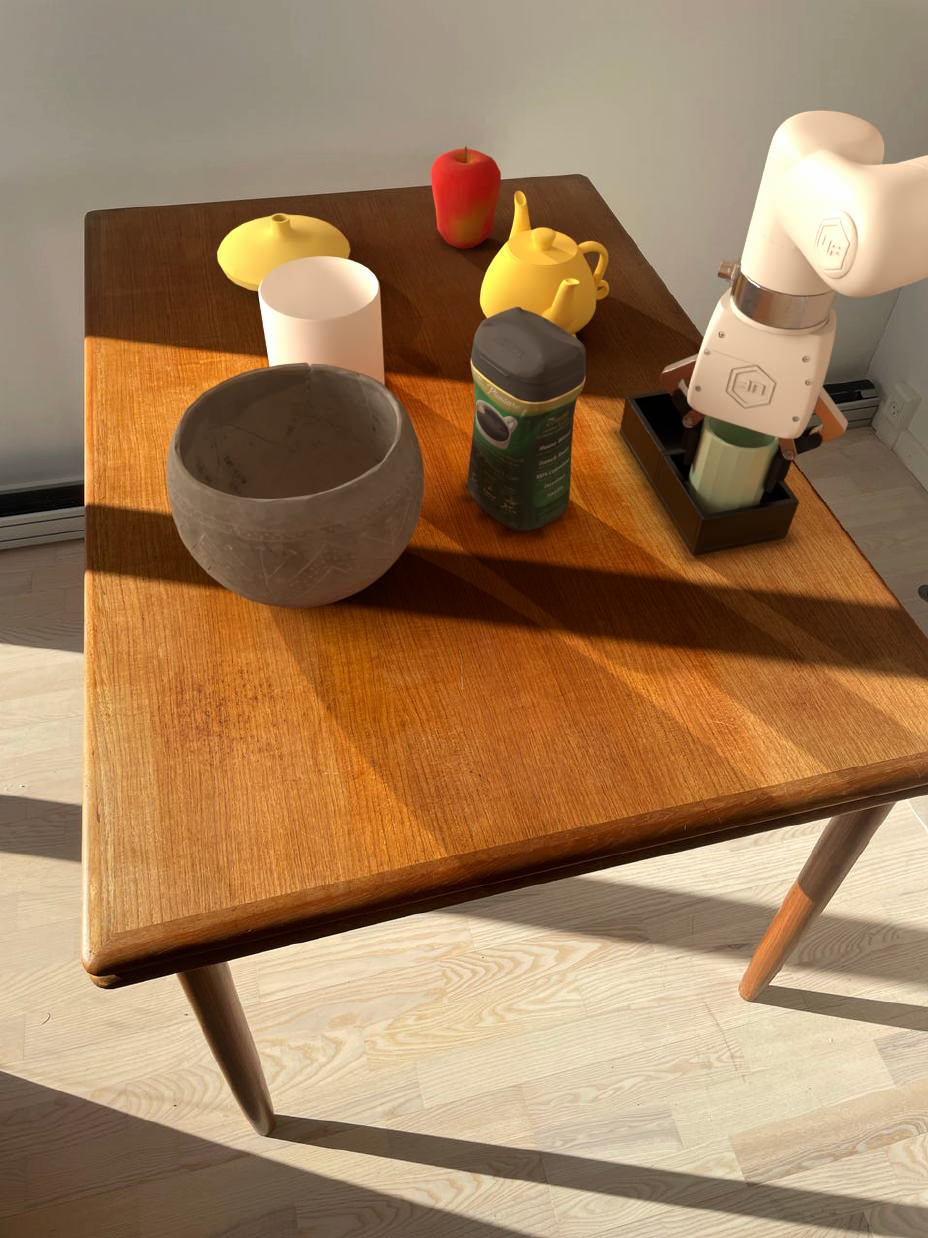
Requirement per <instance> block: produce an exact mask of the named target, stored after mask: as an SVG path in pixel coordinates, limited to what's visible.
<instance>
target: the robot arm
mask: <svg viewBox="0 0 928 1238" xmlns="http://www.w3.org/2000/svg"><path fill="white" fill-rule="evenodd" d="M884 156H885V142H884V139H883V136H882V134H881V133H880V131H879V130H878V129H877V127H875V125H873V124H872V123H870V122H869V121H867V120H865V119H864V118H862V117H861V118H860V117H858V116H855V115H853V114H849V113H846V112H841V111H834V110H809V111H803V112H800V113H799V112H798V113H797V114H795V115H792V116H791V117H788V118H786V119H785V121H783V122H782V123H781V124H780V126H779V127H778V128H777V130H776V131H775V133H774V135H773V137H772V140H771V143H770V146H769V149H768V154H767V157H766V161H765V164H764V165H765V166H764V169H763V173H762V177H761V181H760V184H759V189H758V192H757V197H756V200H755V205H754V209H753V213H752V215H751V219H750V222H749V223H750V224H749V228H748V232H747V236H746V239H745V244H744V248H743V251H742V255H741V257H739V258H738V260H735V259H733V260H732V261H731V260H727V259H722V261H721V262H720V265H719V268H718V270H717V271H718V272H717V277H718V278H720V279H723V280H725V281H726V282H727V283H729V287H730V288H728V289H727V290H726V291H725V292H724V293H723V295H722V296H721V297H720V298H719V301H718V302H717V304H716V307H715V309H714V311H713V312H712V315H711V318H710V320H709V323H708V325H707V328H706V331H705V333H704V337H703V339H702V342H701V344H700V349H699V351H698V353H696V354H694V355H691V356H689V357H686V358H683V359H681V360H678V361H675V362H673V363H671V364H668V365H666V366H665V367H664V369H663V370H662V372H661V373H660V375H659V379H660V381H661V383H662V384H663V386H664V388H665V390H667V391H668V393H670V395H671V396H672V397H671V400H672V402H673V404H674V405H675V407H676V408H677V410H678V411H679V413H680V414H681V415H682V417H683V419H682V423H683V425H684V426H685V430H684V434H683V438H682V442H681V446H680V449H683V450H686V452H685V456H684V460H683V464H685V465H689V464H690V465H691V464H692V462H693V459H694V455H695V451H696V447H697V443H698V440H699V436H700V432H701V428H702V424H703V420H704V417H705V416H706V415H707V416H710V417H713V418H716V419H719V420H722V421H726V422H729V423H732V424H735V425H738V426H741V427H744V428H748V429H751V430H754V431H757V432H760V433H764V434H767V435H770V436H774V437H778V439H779V443H780V447H779V449H778V451H777V452H776V454H775V457H774V459H773V462H772V465H771V468H770V471H769V474H768V477H767V480H766V482H765V485H764V488H763V489H765V491H766V492H769V493H771V491H772V489H773V487H774V485H775V482H776V480H777V481H780V482H783V483H784V481H785V482H786V478H787V476H788V473H789V472H790V471H789V470H790V468H791V465H792V462H793V460H795V459H796V458H797V456H798V455H801V454H804V453H807V452H809V451H812V450H815V449H817V448H820V446H821V445H822V444H825V443H829V442H831V441H833V440H835V439H837V438H839V437H842V436H843V435H844V434H845V432H846V430H847V428H848V425H849V421H848V420H847V418H846V417H845V416H844V414H843V413H842V411H841V410H840V409H839V407H838V406H837V405H836V403H835V402H834V401H833V399H832V397H831V396H830V394H829V393H828V392H827V391H826V390H825V388H824V383H825V379H826V376H827V372H828V369H829V366H830V361H831V356H832V352H833V347H834V343H835V336H836V328H837V319H838V317H837V313H836V311H835V310H834V308H833V307H834V303H835V301H836V297H837V295H838V294H841V295H843V296H847V297H850V298H866V297H873V296H877V295H880V294H883V293H886V292H889V291H892V290H895V289H898V288H901V287H905V286H909V285H911V284H914V283H916V282H919V281H921V280H925V279H928V154H926V155H923V156H919V157H915V158H912V159H907V160H904V161H900V162H896V163H885V164H883V161H884ZM688 378H690V382H689V385H687V384H686V383H685V382H686V381H685V379H688ZM697 387H698V388H697ZM699 388H700V389H699ZM813 414H815V415H816V417H817V418H818V420H820V422H821V424H819V425H814V426H813V425H812V426H811V427H809V428H807V427H808V425H809V423H810V420H811V419H812V415H813Z"/></svg>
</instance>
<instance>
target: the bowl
mask: <svg viewBox="0 0 928 1238" xmlns="http://www.w3.org/2000/svg"><path fill="white" fill-rule="evenodd" d="M423 461H424V460H423V453H422V450H421V447H420V442H419V439H418V436H417V434H416V431H415V428H414V424H413V423H412V419H411V417H410V415H409V413H408V411H407V409H406V407H405V405H404V404H403V402H402V401H401V400H400V399H399V398H398V397H397V396H396V395H395V394H394V393H393V392H392V391H391V390H390V389H389V388H388V387H387V386H386V385H385V386H384V385H383V384H382V383H381V382H379V381H377V380H375V379H373V378H372V377H370V376H367V375H365V374H362V373H360V374H359V373H358V372H355V371H351V370H348V369H344V368H340V367H335V366H331V365H326V364H311V365H310V366H309V364H308V363H292V364H282V365H276V366H270V365H269V366H264V367H258V368H254V369H250V370H247V371H243V372H241V373H239V374H237V375H234V376H232V377H229V378H227V379H225V380H223V381H221V382H220V383H218V384H216V385H214V386H212V387H211V388H209V389H207V390H206V391H203V393H201V394H200V395H199V396H198V397H197V398H195V400H194V401H193V402H192V403H191V404H190V405H189V406H188V407H187V408H186V409H185V410H184V411H183V413H182V415H181V417H180V419H179V421H178V423H177V425H176V427H175V428H174V430H173V433H172V437H171V439H170V442H169V446H168V452H167V459H166V488H167V496H168V501H169V506H170V510H171V514H172V519H173V521H174V523H175V526H176V529H177V531H178V534H179V537H180V539H181V541H182V543H183V544H184V546H185V548H186V549H187V550H188V551H189V553H190V554H191V556H192V557H193V559H194V560H195V561H196V562H197V564H198V565H199V566H201V568H202V569H203V570H204V571H205V572H206V573H207V574H208V575H209V576H210V577H211V578H212V579H214V581H216V582H218V583H219V584H220V585H222V586H223V587H224V588H226V589H227V590H228V591H230V592H232V593H233V594H236V595H238V596H240V597H242V598H244V599H247V600H249V601H251V602H254V603H259V604H262V605H265V606H270V607H278V608H284V609H307V608H309V609H310V608H314V607H320V606H325V605H330V604H332V603H335V602H338V601H341V600H343V599H346V598H348V597H351V596H354V595H355V594H357V593H360V592H361V591H363V590H365V589H366V588H368V587H369V586H370V585H372V584H374V583H375V582H376V581H377V580H378V579H379V578H381V577H382V576H383V575H384V574H385V573H387V571H388V570H390V568H392V566H393V565H394V564H395V562H396V561H398V559H399V558H400V556H401V555H403V553H404V551H405V550H406V549H407V547H408V545H409V544H410V541H411V539H412V537H413V536H414V534H415V532H416V528H417V526H418V524H419V521H420V518H421V513H422V505H423V500H424V491H425V470H424V462H423Z"/></svg>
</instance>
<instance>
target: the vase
mask: <svg viewBox="0 0 928 1238" xmlns="http://www.w3.org/2000/svg"><path fill="white" fill-rule="evenodd" d="M350 246H351V245H350V242H349V240H348V238H347V237H345V235H344V234H343V233H342V232H341V231H340V230H339V229H338V228H337V227H336V226H333V224H331V223H329V222H327V221H325V220H321V219H319V218H317V217H311V216H306V215H301V214H300V215H297V214H286V213H283V212H282V213H281V212H280V213H275V214H272V215H270V216H264V217H260V218H259V217H258V218H255V219H253V220H250V221H247V222H244V223H243V224H240V225H239V226H237V227H235V228H234V229H232V230H231V231H230V232H229V233H228V234H226V236H225V237H224V238H223V240H222V241H221V243H220V245H219V247H218V249H217V252H216V253H217V262H218V264H219V266H220V267H221V269H222V271H223V273H224V274H225V276H226V277H227V278H228V279H229V280H231V282H233V283H234V284H235V285H237V286H240V287H243V288H245V289H247V290H250V291H254V292H258V293H259V287H260V284H261V282H262V280H263V279H264V278H265V277H266V275H267V274H268V273H269V272H271V271H272V270H273V269H275V268H277V267H278V266H280V265H282V264H284V263H287V262H290V261H293V260H297V259H301V258H307V257H316V256H329V257H338V258H343V259H348V260H349V256H350V253H351V247H350Z"/></svg>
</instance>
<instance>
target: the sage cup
mask: <svg viewBox="0 0 928 1238" xmlns="http://www.w3.org/2000/svg"><path fill="white" fill-rule="evenodd" d="M779 447H780V443H779V439H778V437H774V436H770V435H767V434H764V433H760V432H757V431H754V430H751V429H748V428H744V427H741V426H738V425H735V424H732V423H729V422H726V421H722V420H719V419H716V418H713V417H710V416H707V415H706V416H705V417H704V420H703V424H702V428H701V432H700V436H699V440H698V443H697V447H696V451H695V455H694V459H693V463H692V466H691V470H690V474H689V478H688V486H689V488H690V489H691V491H692V492H693V494H694V495H695V497H696V499H697V500H698V502H699V503H700V505H701V507H702V508H703V510H704V511H705V513H706V514H711V513H716V512H721V511H727V510H732V509H737V508H743V507H748V506H753V505H759V504H760V502H761V499H762V497H763V494H764V491H765V489H763V488H764V485H765V482H766V480H767V477H768V474H769V471H770V468H771V465H772V462H773V459H774V457H775V454H776V452H777V451H778V449H779Z"/></svg>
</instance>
